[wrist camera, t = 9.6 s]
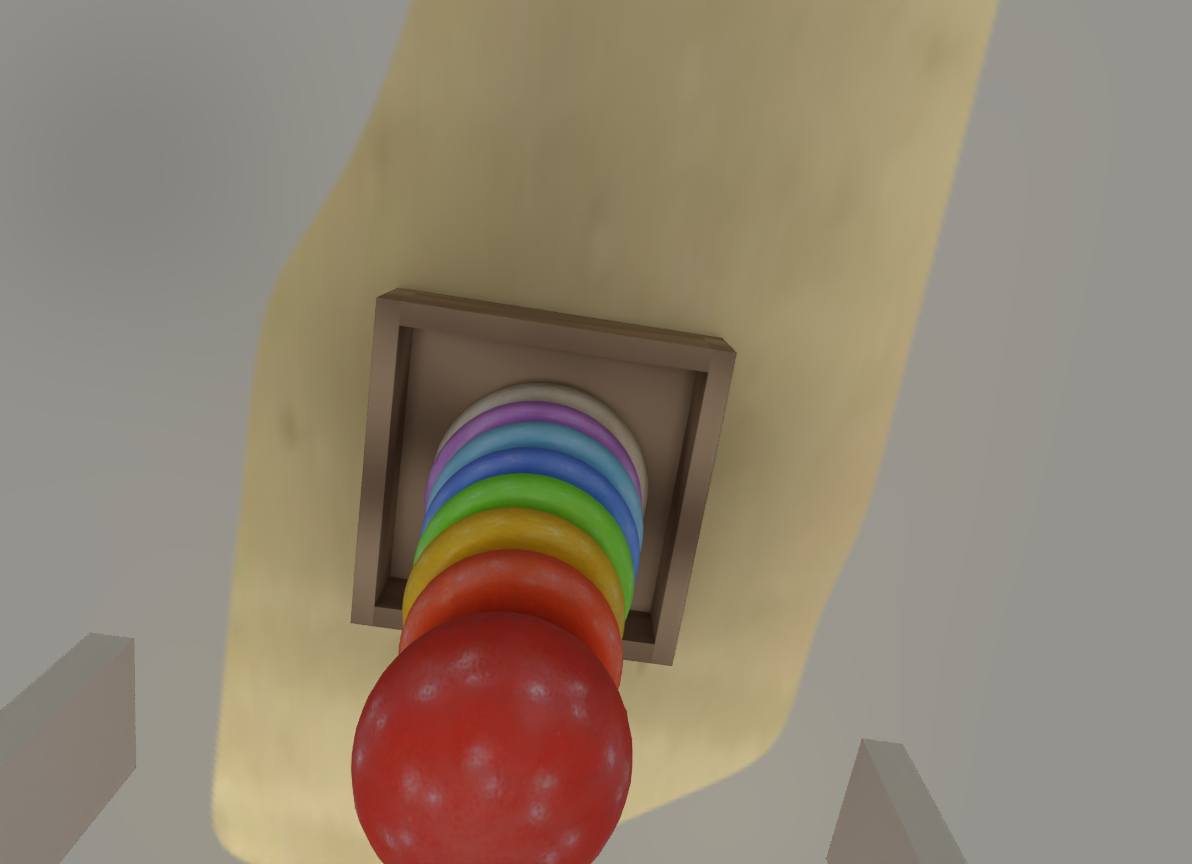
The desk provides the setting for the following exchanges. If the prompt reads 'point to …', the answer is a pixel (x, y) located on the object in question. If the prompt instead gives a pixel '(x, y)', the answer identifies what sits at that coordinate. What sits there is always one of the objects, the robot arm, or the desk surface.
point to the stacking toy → (511, 642)
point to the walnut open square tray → (537, 355)
